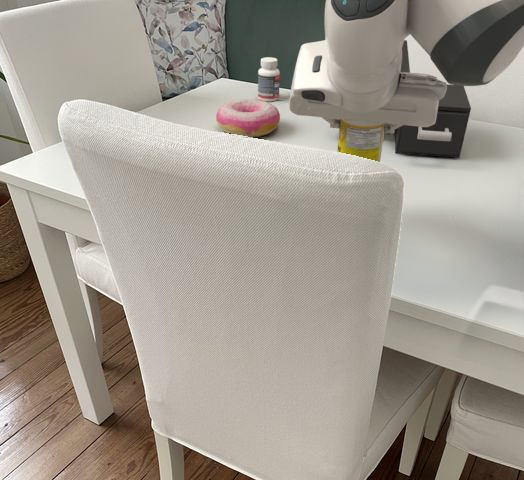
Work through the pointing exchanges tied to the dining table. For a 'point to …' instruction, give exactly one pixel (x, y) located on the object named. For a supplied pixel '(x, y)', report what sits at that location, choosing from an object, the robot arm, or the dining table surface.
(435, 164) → the dining table surface
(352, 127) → the supplement bottle
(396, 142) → the box
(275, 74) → the pill bottle
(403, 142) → the air fryer basket
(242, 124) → the donut
